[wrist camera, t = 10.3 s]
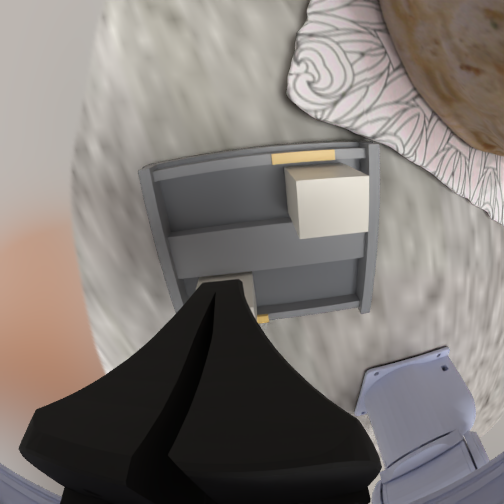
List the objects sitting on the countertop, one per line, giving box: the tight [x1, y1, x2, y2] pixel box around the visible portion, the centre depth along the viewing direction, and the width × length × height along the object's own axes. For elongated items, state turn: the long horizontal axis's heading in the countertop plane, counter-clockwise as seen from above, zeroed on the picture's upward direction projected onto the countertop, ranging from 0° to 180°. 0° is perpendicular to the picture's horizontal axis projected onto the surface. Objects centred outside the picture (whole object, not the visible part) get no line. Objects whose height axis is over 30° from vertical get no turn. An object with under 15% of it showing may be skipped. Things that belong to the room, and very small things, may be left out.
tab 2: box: [284, 163, 369, 239], centre depth 12 cm, size 3×2×4 cm
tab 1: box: [196, 271, 258, 322], centre depth 15 cm, size 3×2×4 cm
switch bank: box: [138, 140, 380, 323], centre depth 15 cm, size 12×10×2 cm
